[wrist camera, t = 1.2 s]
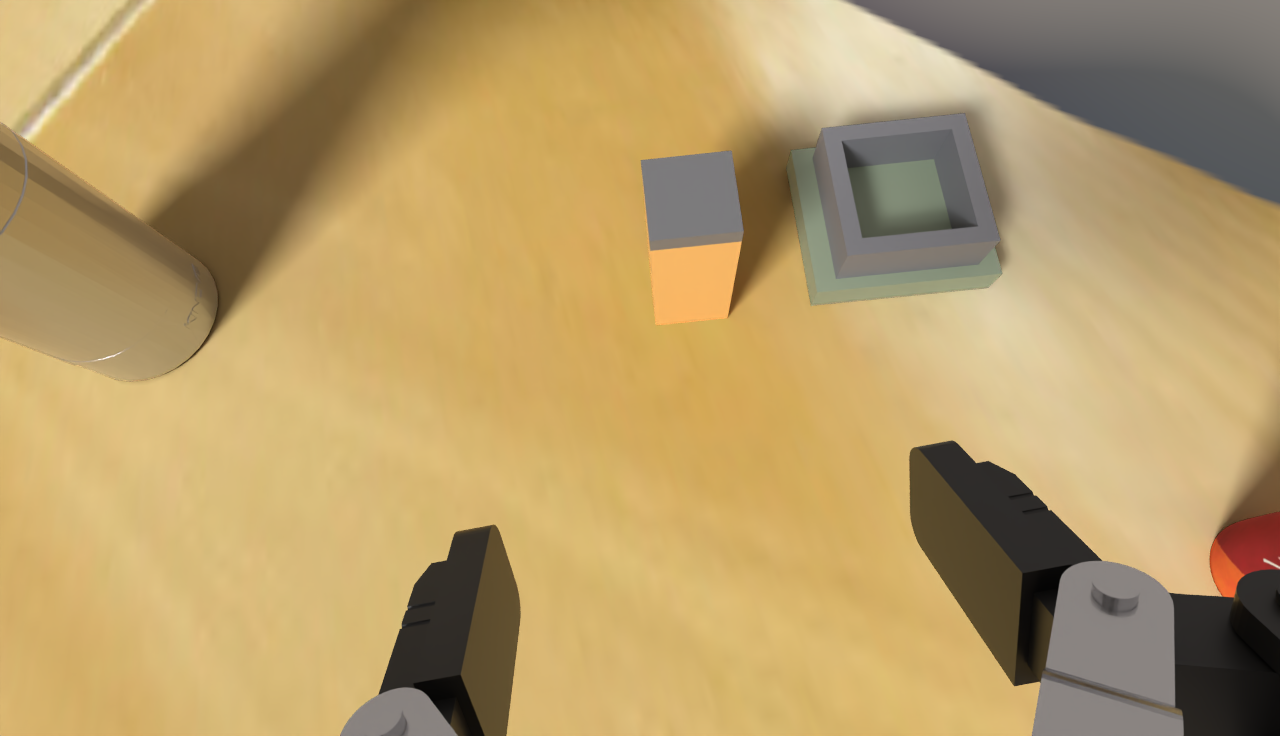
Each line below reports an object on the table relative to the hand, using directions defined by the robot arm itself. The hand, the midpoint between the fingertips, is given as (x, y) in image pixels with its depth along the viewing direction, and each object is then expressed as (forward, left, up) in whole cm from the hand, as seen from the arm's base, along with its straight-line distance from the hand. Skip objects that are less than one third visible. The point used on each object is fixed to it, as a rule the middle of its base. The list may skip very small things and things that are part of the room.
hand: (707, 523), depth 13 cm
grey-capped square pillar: (+2, +17, -27) cm, 32 cm away
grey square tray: (+15, +20, -27) cm, 37 cm away
